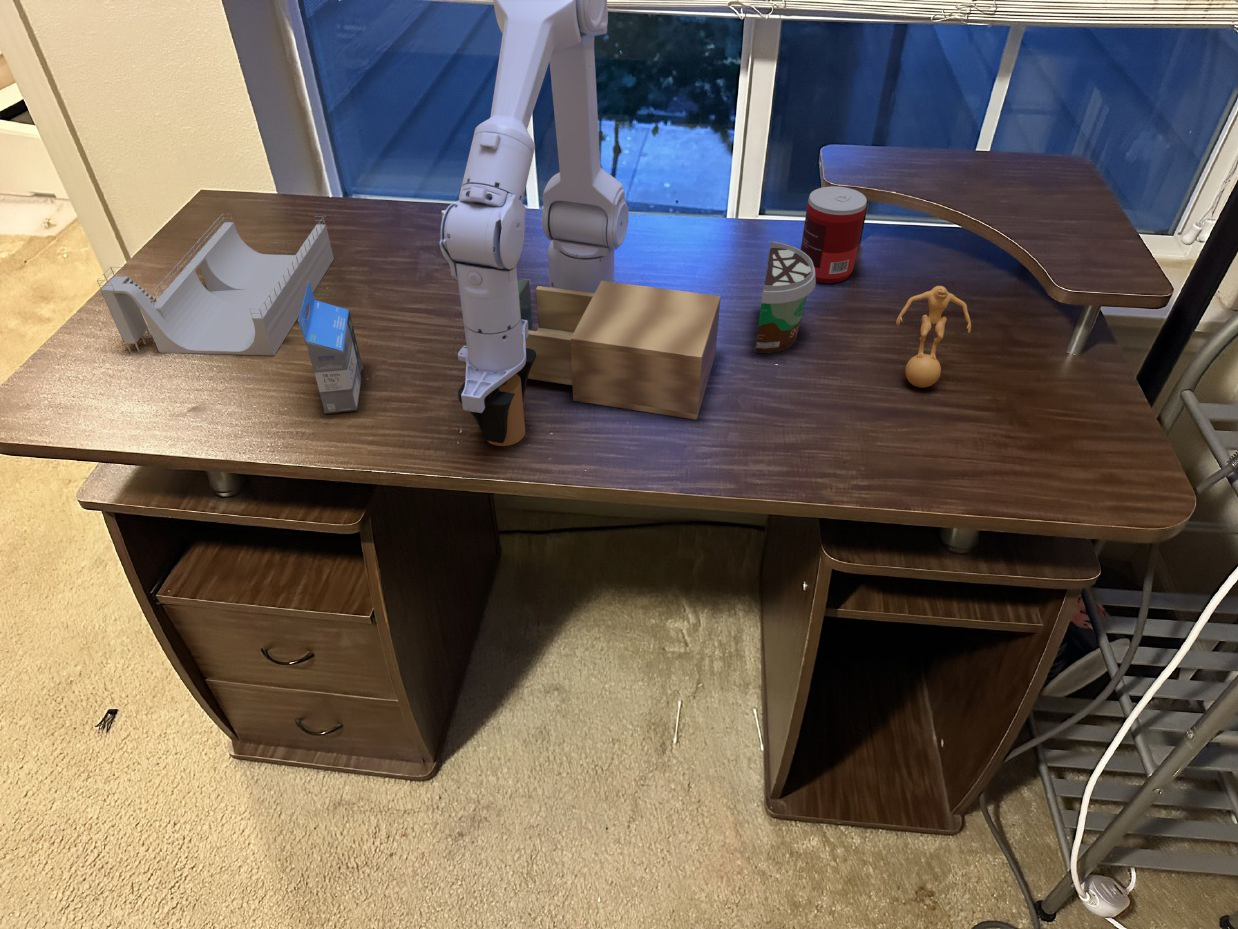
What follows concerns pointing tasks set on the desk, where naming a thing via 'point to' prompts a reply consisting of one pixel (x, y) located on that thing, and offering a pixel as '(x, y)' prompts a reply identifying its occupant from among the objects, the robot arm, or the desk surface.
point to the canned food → (833, 231)
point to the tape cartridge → (332, 353)
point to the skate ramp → (223, 297)
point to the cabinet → (645, 349)
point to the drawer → (552, 329)
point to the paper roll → (513, 412)
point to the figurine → (924, 366)
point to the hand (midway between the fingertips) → (503, 424)
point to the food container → (783, 297)
